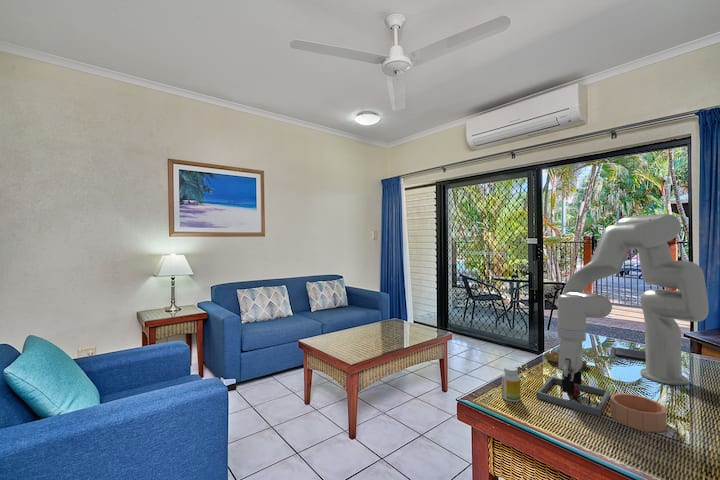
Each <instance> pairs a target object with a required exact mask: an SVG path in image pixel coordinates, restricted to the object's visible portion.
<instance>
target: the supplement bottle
mask: <svg viewBox="0 0 720 480" xmlns="http://www.w3.org/2000/svg"><path fill="white" fill-rule="evenodd" d="M518 374H519V369H518V368H517V367H515V366H514V365H513V366H512V365H505V366H503V373H502V374H501V396H502V398H503V400H505V401H507V402H512V403H517V402H519V401H520V400H521V376H520V375H518Z"/></svg>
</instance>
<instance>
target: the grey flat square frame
mask: <svg viewBox="0 0 720 480" xmlns="http://www.w3.org/2000/svg"><path fill="white" fill-rule="evenodd" d="M553 384H557V385H560V386H562V378H558V377H555V376H550V377H549V378H548V379H547V380H546V381H545V383H543V384H542V385H541V387H540V388H539V389H538V390H536V394H535V395H536V396H535V397H536V398H537V399H538V400H539V399H540V400H543V401H545V402H546V401H547V402H550V403H553V404H556V405H559V406H564V407H567V408H569V409H570V408H571V409H574V410H577V411H581V412H583V413H586V414H591V415H594V416H598V417H601V416H602V414H603V412H604V410H605V407H606V406H607V403H608V401H609V400H610V397H611V395H610V394H611V391H610V390H609V389H606V388H605V389H604V388H602V387H597V386H593V385H589V384H588V385H587V384H583V383H581V384H576V383H574V385H576V386H578V387H579V390H580V391H584V392H587V393H592V394H596V395H599V396H602V398H601V400H600V402H599V404H598V406H597V407H594V406H592V405H588V404H585V403H584V404H583V403H580V402H577V401H573V400H569V399H566V398H563V397H560V396H555V395H552V394H548V393H546V392H547V390H548V389H549V388H550V387H551V386H552V385H553Z"/></svg>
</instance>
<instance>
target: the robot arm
mask: <svg viewBox="0 0 720 480" xmlns="http://www.w3.org/2000/svg"><path fill="white" fill-rule="evenodd" d="M681 226H682V225H681V221H680V220H679V218H678V217H677V216H676V215H673V214H670V213H661V214H660V213H659V214H658V213H657V214H643V215H632V216H631V215H630V216H626V217H622V218H620V219H619V220H617V223H615V224H612V225H608V226H607V227H605V228H604V229H603V232H602V234H601V236H600V238H599V240H598V243H597V245H596V246H595V247H596V248H595V250H594V253H592V254H593V255H592V257H591V259H590V261H589V262H588V263H587V264H585V265H584V266H582V267H580V269H578V270H577V271H576V272H575V273H573V274H572V275H571V276H570V277H569V278H568V280H567V282H566V284H565V286H564V288H563V290H562V294H560V295H558V297H557V337H558V338H559V340H560V341H559V346H558V347H559V348H558V353H559V365H557V366H558V370H559V371H562V375H561V379H562V385H561V391H562V392H563V393H566V394H567V393H570V394H574V393H575V392H574V383H576V384H583V383H582V382H583V381H582V377H583V376H582V371H581V367H582V361H584V358H583V351H584V350H583V342H586V340H587V338H586V337H587V334H586V333H587V329H586V328H587V325H586V322H587V321H586V318H592V319H603V318H606V317H607V316H609V315H610V314H611V312H612V311H613V303H612V302H611V300H610V299H609V298H608V297H606V296H605V295H602V294H597V293H593V292H592V293H590V292H586V291H584V290H585V289H586V288H587V287H588V286H589V285H590V284H592V283H594V282H596V281H599V280H602V279H605V278H609V277H612V276H614V275H617V274H619V273H620V272H621V270H622V268H623V265H624V263H625V261H626V258H627V256H628V253H629V251H630V250H637V254H638V258H639V265H640V271H641V277H642V280H643V282H644V283H645V284H647V285H649V286H652V287H659V288H652V289H648V290H644V292H643V293H642V294H641V295H640V305H641V309H642V314H643V319H644V339H645V340H644V342H645V343H644V344H645V346H644V347H645V349H644V351H645V354H646V362H645V368H641V369H640V370H639V371H640V375H641V376H643V377H644V378H646V379H649V381H650V380H651V381H654V382H658V383H662V384H666V385H674V386H675V385H676V386H683V385H684V386H685V385H688V383H689V379H688V377H686V376H685V375H683V370H682V369H683V366H682V364H683V363H682V331H681V327H680V326H679V324H678V323H677V321H676V320H679V321H687V322H693V323H694V322H695V323H698V322H702V321H704V320H706V319H707V317H708V315H709V307H710V306H709V300H708V292H707V286H706V280H705V274H704V271H703V269H702V268H701V267H700V266H699V265H698V264H697V263H695V262H693V261H688V260H675V259H672V254H671V250H670V245H669V244H668V242H670V241H672V240H673V239H674V238H676V237H677V236H678V235H679V233H680V232H681V228H682V227H681ZM662 288H667V289H662ZM670 289H672V290H670ZM673 289H675V290H673ZM677 289H678V290H679V291H678V290H677ZM570 369H571V370H570Z"/></svg>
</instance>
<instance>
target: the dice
mask: <svg viewBox="0 0 720 480" xmlns="http://www.w3.org/2000/svg"><path fill="white" fill-rule="evenodd" d="M574 392H575V393H574V394H570V393H566V395H567V397H571V398H574V399H577V398H578V397H579V396H581V393H582V392H581V390H579V387H578V386H576V385H574Z"/></svg>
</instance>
